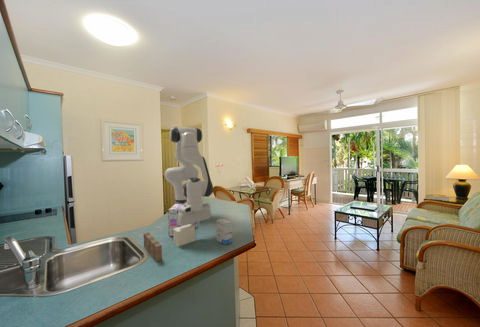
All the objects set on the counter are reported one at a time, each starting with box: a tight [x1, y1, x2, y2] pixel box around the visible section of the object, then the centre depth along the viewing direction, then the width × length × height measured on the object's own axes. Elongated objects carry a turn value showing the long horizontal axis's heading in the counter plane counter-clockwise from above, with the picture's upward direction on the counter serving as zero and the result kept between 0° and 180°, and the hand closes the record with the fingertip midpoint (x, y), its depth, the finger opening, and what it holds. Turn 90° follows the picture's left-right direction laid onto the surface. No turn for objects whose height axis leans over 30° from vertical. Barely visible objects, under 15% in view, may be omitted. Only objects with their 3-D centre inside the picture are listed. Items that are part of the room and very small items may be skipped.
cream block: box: [172, 224, 196, 247], centre depth 108 cm, size 6×10×8 cm, turn 132°
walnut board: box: [143, 232, 163, 262], centre depth 97 cm, size 20×2×7 cm, turn 42°
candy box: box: [167, 203, 184, 237], centre depth 122 cm, size 14×6×16 cm, turn 0°
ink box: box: [216, 218, 233, 246], centre depth 108 cm, size 9×5×12 cm, turn 44°
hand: (195, 229), depth 113 cm, fingers closed
